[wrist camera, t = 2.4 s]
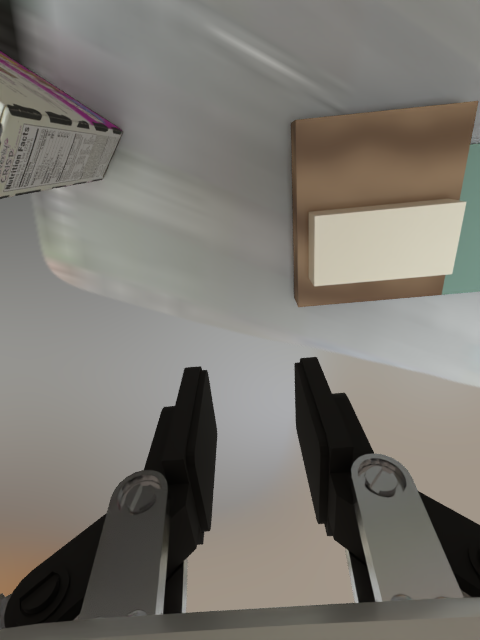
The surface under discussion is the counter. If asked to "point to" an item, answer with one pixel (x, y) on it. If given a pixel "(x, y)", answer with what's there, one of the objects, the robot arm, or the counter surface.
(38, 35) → the counter surface
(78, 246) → the counter surface
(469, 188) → the mat
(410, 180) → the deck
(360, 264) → the tile
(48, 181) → the candy bar box
